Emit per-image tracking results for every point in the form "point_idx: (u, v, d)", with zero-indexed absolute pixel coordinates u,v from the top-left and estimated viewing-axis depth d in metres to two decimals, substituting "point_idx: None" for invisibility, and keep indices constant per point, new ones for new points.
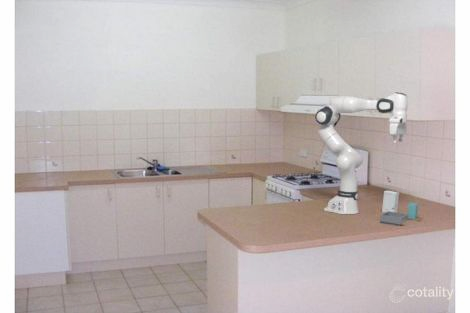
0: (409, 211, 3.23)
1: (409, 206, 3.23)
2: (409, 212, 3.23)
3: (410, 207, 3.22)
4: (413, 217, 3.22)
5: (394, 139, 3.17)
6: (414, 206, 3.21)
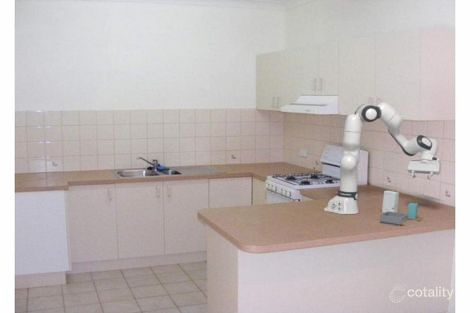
0: (409, 211, 3.23)
1: (409, 206, 3.23)
2: (409, 212, 3.23)
3: (410, 207, 3.22)
4: (413, 217, 3.22)
5: (430, 176, 3.28)
6: (414, 206, 3.21)
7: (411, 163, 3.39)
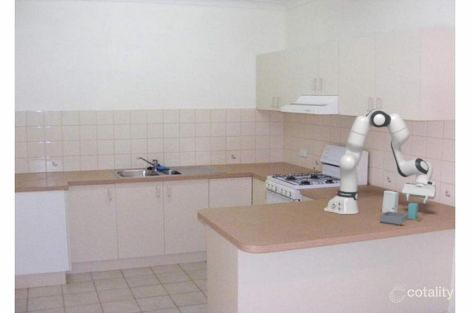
0: (409, 211, 3.23)
1: (409, 206, 3.23)
2: (409, 212, 3.23)
3: (410, 207, 3.22)
4: (413, 217, 3.22)
5: (425, 200, 3.24)
6: (414, 206, 3.21)
7: (406, 186, 3.35)
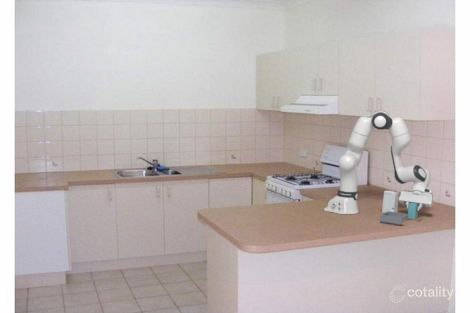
0: (409, 211, 3.23)
1: (409, 206, 3.23)
2: (409, 212, 3.23)
3: (410, 207, 3.22)
4: (413, 217, 3.22)
5: (419, 208, 3.22)
6: (414, 206, 3.21)
7: (403, 193, 3.31)
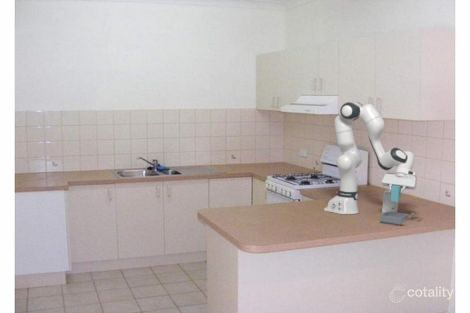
0: (392, 193, 3.15)
1: (392, 189, 3.15)
2: (392, 195, 3.16)
3: (393, 189, 3.15)
4: (396, 200, 3.14)
5: (403, 190, 3.14)
6: (397, 188, 3.13)
7: (386, 176, 3.24)
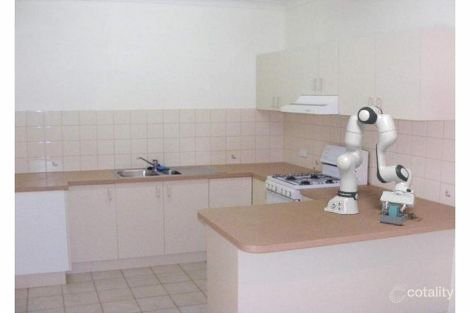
0: (390, 214, 3.17)
1: (390, 209, 3.16)
2: (390, 215, 3.17)
3: (391, 210, 3.16)
4: None
5: (403, 208, 3.14)
6: (395, 209, 3.14)
7: (384, 193, 3.25)
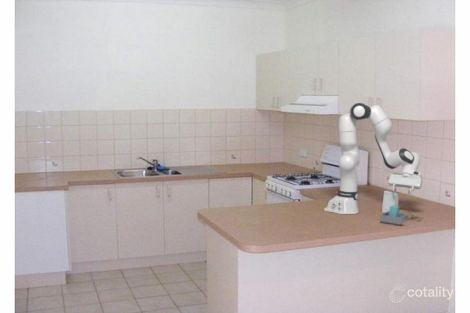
0: (390, 214, 3.17)
1: (390, 209, 3.16)
2: (390, 215, 3.17)
3: (391, 210, 3.16)
4: None
5: (411, 190, 3.23)
6: (395, 209, 3.14)
7: (392, 176, 3.33)
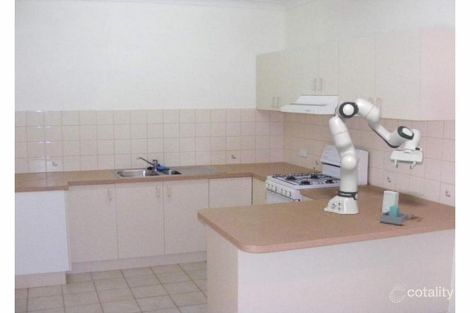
0: (390, 214, 3.17)
1: (390, 209, 3.16)
2: (390, 215, 3.17)
3: (391, 210, 3.16)
4: None
5: (413, 166, 3.28)
6: (395, 209, 3.14)
7: (394, 153, 3.38)
